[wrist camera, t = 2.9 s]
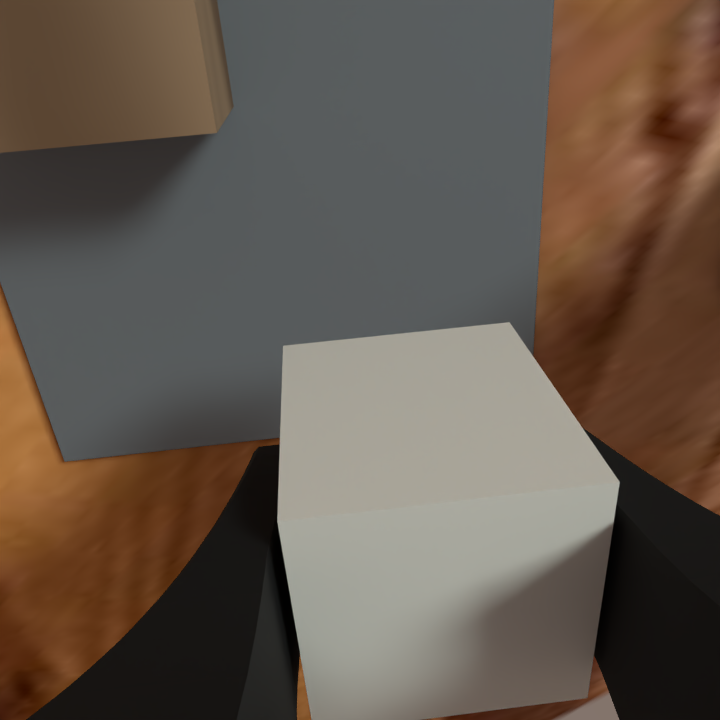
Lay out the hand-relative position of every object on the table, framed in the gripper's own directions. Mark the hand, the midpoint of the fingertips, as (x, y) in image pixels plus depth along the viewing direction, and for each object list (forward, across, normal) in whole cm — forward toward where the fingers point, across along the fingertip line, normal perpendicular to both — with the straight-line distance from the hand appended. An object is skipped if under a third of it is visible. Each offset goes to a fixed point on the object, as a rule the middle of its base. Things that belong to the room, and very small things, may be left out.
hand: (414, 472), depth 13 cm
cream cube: (+2, 0, 0) cm, 2 cm away
